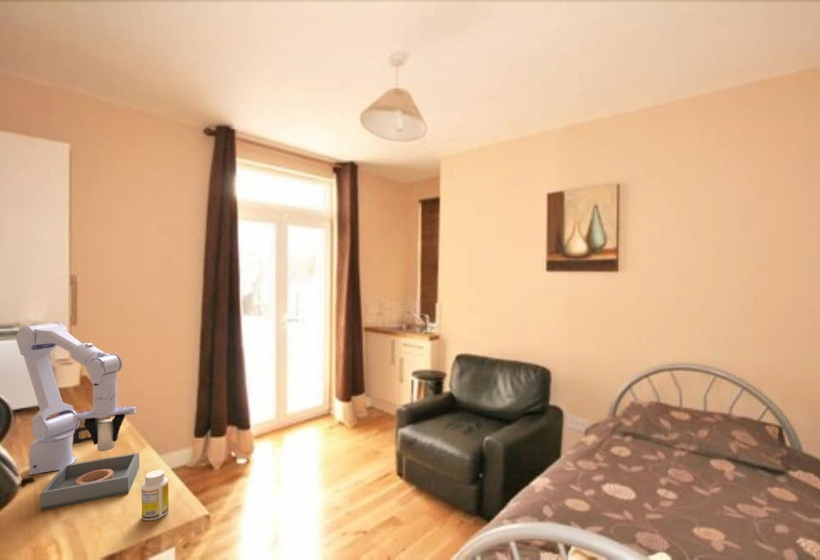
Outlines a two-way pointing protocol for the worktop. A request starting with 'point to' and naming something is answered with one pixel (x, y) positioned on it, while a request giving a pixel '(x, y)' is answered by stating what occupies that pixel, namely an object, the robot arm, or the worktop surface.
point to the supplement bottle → (154, 495)
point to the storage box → (90, 481)
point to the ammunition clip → (83, 429)
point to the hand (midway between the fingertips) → (105, 441)
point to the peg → (105, 435)
